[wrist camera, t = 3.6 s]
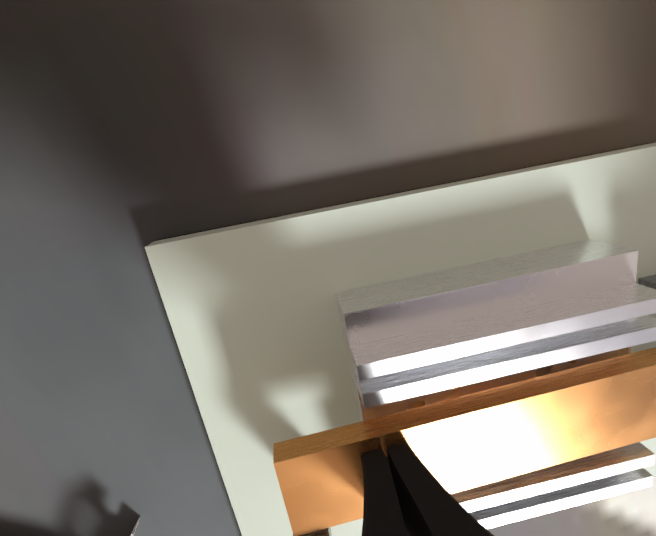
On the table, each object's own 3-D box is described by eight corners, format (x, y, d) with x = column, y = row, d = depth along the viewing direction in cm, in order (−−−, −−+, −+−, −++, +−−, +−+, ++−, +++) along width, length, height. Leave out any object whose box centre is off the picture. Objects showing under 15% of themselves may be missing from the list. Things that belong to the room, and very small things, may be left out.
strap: (727, 323, 13) (779, 340, 12) (716, 392, 14) (763, 416, 13) (273, 437, 12) (273, 471, 10) (292, 506, 13) (294, 546, 11)
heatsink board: (712, 131, 14) (927, 113, 10) (672, 451, 19) (804, 548, 14) (154, 241, 13) (79, 284, 8) (258, 556, 18) (248, 702, 13)
